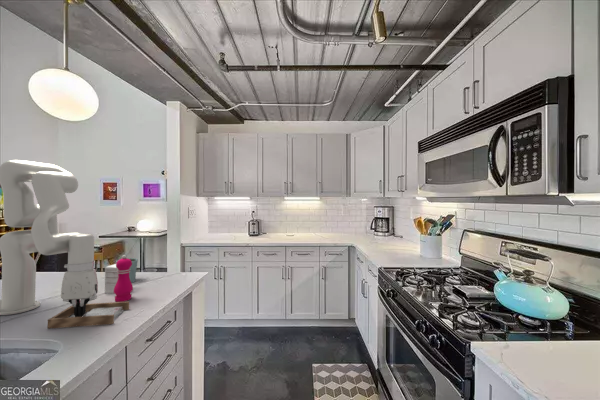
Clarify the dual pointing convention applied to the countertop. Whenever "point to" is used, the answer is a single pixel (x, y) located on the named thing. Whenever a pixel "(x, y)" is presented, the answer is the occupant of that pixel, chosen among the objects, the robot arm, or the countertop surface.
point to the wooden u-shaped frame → (66, 321)
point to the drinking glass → (132, 269)
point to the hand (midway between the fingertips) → (79, 316)
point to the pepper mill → (123, 280)
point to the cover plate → (105, 311)
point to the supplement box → (110, 278)
